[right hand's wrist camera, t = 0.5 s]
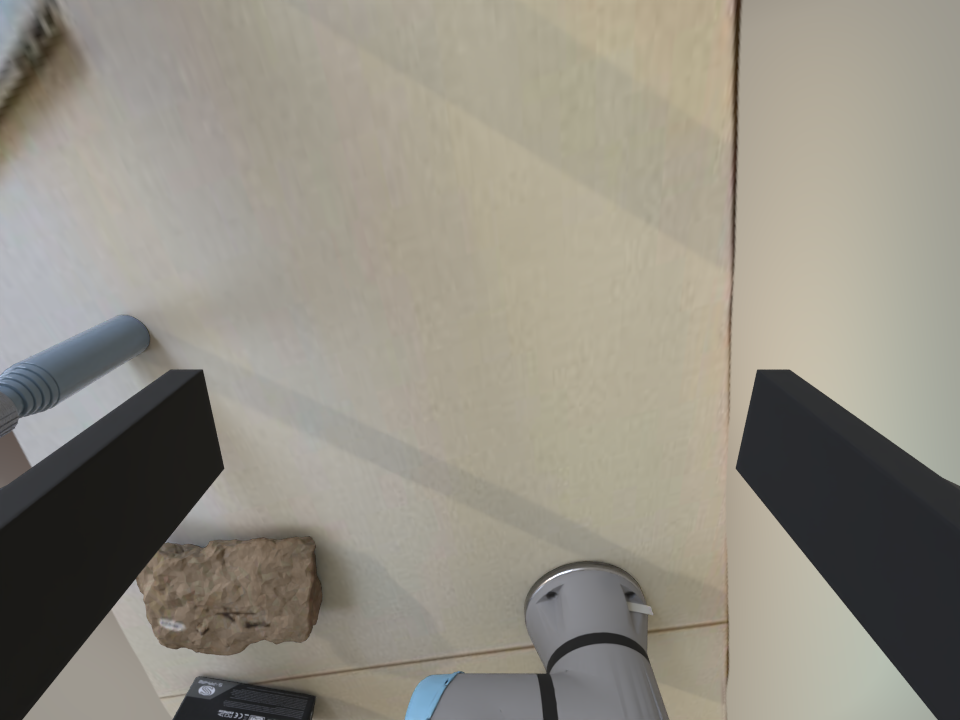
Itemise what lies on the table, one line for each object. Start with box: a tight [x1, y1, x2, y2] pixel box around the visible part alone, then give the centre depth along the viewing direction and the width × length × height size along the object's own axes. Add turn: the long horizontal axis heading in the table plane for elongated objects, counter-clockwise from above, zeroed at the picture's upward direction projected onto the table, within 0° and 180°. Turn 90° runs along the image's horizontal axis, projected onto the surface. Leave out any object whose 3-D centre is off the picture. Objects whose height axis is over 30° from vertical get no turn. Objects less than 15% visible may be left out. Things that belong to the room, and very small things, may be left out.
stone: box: [136, 537, 322, 655], centre depth 62 cm, size 21×15×6 cm
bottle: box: [0, 315, 150, 418], centre depth 44 cm, size 4×4×18 cm
